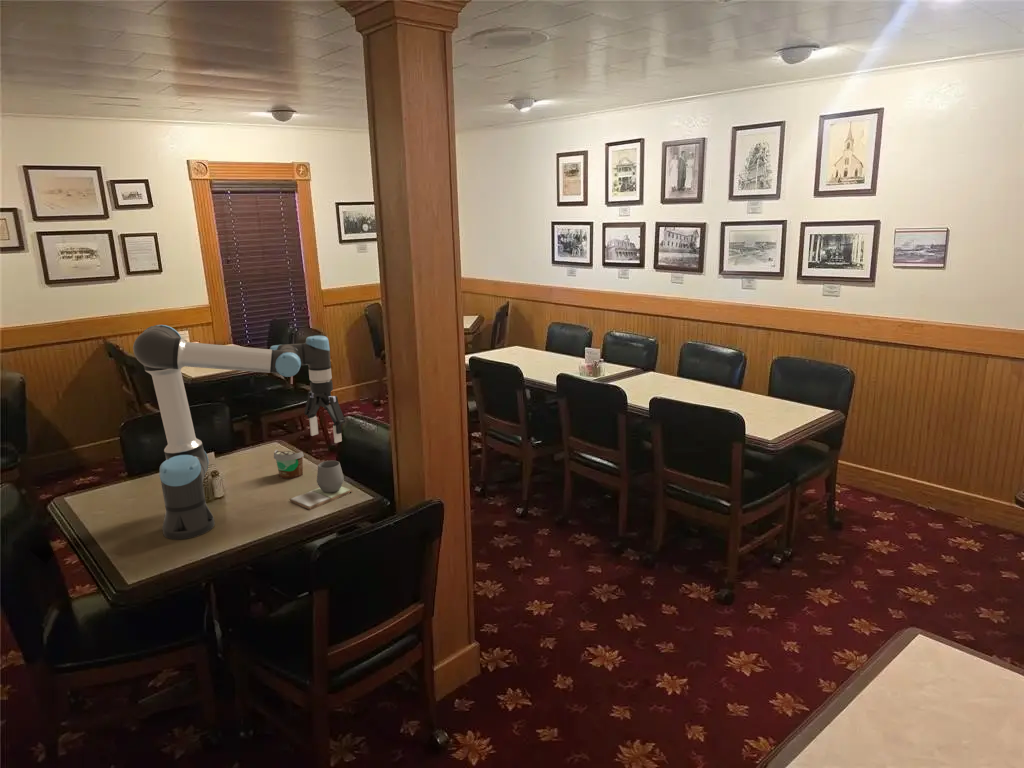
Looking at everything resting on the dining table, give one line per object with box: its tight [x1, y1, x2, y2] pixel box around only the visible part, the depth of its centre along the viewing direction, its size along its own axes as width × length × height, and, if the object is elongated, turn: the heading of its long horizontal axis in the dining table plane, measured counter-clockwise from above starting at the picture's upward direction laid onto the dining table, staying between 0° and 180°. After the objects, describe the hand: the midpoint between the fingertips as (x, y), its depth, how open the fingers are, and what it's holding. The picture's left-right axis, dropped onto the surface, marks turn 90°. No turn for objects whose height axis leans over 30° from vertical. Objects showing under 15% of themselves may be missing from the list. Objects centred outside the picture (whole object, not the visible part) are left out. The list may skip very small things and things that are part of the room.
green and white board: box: [289, 486, 353, 510], centre depth 238 cm, size 18×12×1 cm, turn 142°
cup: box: [316, 460, 345, 493], centre depth 240 cm, size 10×9×10 cm
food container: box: [273, 448, 305, 480], centre depth 256 cm, size 12×6×10 cm, turn 73°
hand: (326, 438), depth 236 cm, fingers open, 13 cm apart
